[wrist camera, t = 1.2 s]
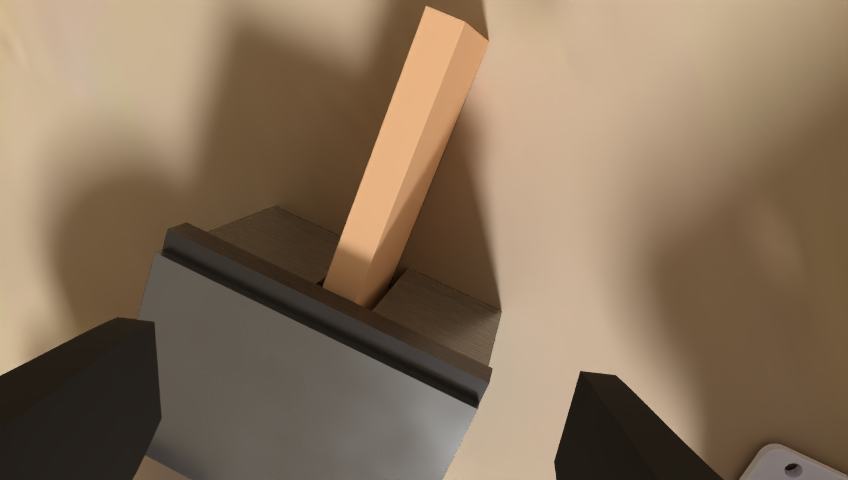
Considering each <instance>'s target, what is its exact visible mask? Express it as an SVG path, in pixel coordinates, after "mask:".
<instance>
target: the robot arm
mask: <svg viewBox="0 0 848 480" xmlns="http://www.w3.org/2000/svg"><path fill="white" fill-rule="evenodd" d="M161 419H162V414H161V401H160V388H159V375H158V362H157V348H156V335H155V322H153V321H145V320H136V319H127V318H119V317H117V318H115V319H113V320H110V321H108V322H106V323H104V324H102V325H99V326H97V327H95V328H93V329H91V330H89V331H87V332H85V333H83V334H81V335H79V336H77V337H75V338H73V339H71V340H69V341H67V342H66V343H64V344H62V345H60V346H58V347H56V348H54V349H52V350H50V351H48V352H46V353H44V354H42V355H40V356H38V357H36V358H34V359H32V360H30V361H29V362H27V363H25V364H23V365H21V366H19V367H17V368H15V369H13V370H11V371H9V372H7V373H5V374H3V375H1V376H0V480H133V478H134V476H135V475H136V473H137V471H138V469H139V466H140V464H141V462H142V460H143V458H144V456H145V454H146V452H147V450H148V448H149V446H150V443H151V441H152V439H153V437H154V435H155V432H156V430H157V428H158V426H159V424H160V421H161ZM554 463H555V471H556V480H723V479H722V478H721V477H720V476H719V475H718V474H717V473H716V472H714V471H713V470H712V469H711V468H710V467H709V466H708V465H707V464H706V463H705V462H704V461H703V460H702V459H701V458H700V457H699V456H698V455H697V454H696V453H695V452H694V451H693V450H692V449H691V448H689V447H688V446H687V445H686V444H685V443H684V442H683V441H682V440H681V439H680V438H679V437H678V436H677V435H676V434H675V433H674V432H673V431H672V430H671V429H670V428H669V427H668V426H667V425H666V424H665V423H664V422H663V421H662V420H661V419H660V418H659V417H658V416H657V415H656V414H655V413H654V412H653V411H652V410H651V409H650V408H649V407H648V406H647V405H646V404H645V403H644V402H643V401H642V400H641V399H640V398H639V397H638V396H637V395H636V394H635V393H634V392H633V391H632V390H631V389H630V388H629V387H628V386H627V385H626V384H625V383H624V382H623V381H622V380H620V379H619V378H618V377H617V376H616V375H609V374H601V373H592V372H583V371H580V374H579V378H578V381H577V385H576V388H575V392H574V395H573V399H572V402H571V406H570V409H569V413H568V416H567V419H566V423H565V426H564V430H563V433H562V437H561V440H560V444H559V447H558V451H557V454H556V458H555V461H554ZM792 463H795V464H798V465H797V467H796V468H795V469H793V470H785V467H786V466H787V465H788V464H792ZM739 480H848V475H846V474H844V473H842V472H839V471H837V470H835V469H833V468H831V467H829V466H827V465H824V464H822V463H820V462H818V461H816V460H814V459H811V458H809V457H807V456H805V455H803V454H801V453H799V452H796V451H794V450H792V449H790V448H788V447H786V446H784V445H780V444H769V445H766V446H764V447H763V448H762V449H761V450H760V451H759V452H758V454H757V455H756V456H755V458H754V459H753V461H752V462H751V464H750V465H749V466H748V468H747V469H746V471H745V472H744V473H743V475H742V476H741V478H740V479H739Z"/></svg>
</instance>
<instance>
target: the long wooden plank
mask: <svg viewBox="0 0 848 480" xmlns="http://www.w3.org/2000/svg"><path fill="white" fill-rule="evenodd" d="M488 43H489V41H488V40H486V39H485V38H484V37H483V36H482V35H480V34H479V33H478V32H477V31H476V30H475V29H473V28H472V27H471V26H470V25H469V24H467V23H466V22H464V21H462V20H460V19H457V18H455V17H452V16H450V15H447V14H445V13H443V12H440V11H438V10H435V9H433V8H430V7H428V6H426V7H425V10H424V13H423V15H422V18H421V21H420V24H419V26H418V29H417V32H416V34H415V37H414V40H413V43H412V45H411V48H410V51H409V53H408V56H407V59H406V62H405V64H404V67H403V70H402V72H401V75H400V78H399V81H398V83H397V86H396V89H395V91H394V94H393V97H392V100H391V102H390V105H389V108H388V110H387V113H386V116H385V119H384V121H383V124H382V127H381V129H380V132H379V135H378V138H377V140H376V143H375V146H374V148H373V151H372V154H371V157H370V159H369V162H368V165H367V167H366V170H365V173H364V176H363V178H362V181H361V184H360V186H359V189H358V192H357V195H356V197H355V200H354V203H353V206H352V208H351V211H350V214H349V216H348V219H347V222H346V225H345V227H344V230H343V233H342V235H341V238H340V241H339V244H338V246H337V249H336V252H335V254H334V257H333V260H332V263H331V265H330V268H329V271H328V273H327V276H326V279H325V282H324V284H323V288H325V289H327V290H329V291H331V292H333V293H335V294H337V295H340V296H342V297H344V298H346V299H348V300H350V301H352V302H354V303H356V304H358V305H360V306H363V307H365V308H367V309H369V310H371V311H372V310H373V309H374V308H375V307H376V306H377V304H378V303H379V302H380V301H381V300H382V298H383V297H384V296H385V294H386V292H387V290H388V287H389V285H390V282H391V280H392V277H393V275H394V272H395V270H396V268H397V265H398V263H399V260H400V258H401V255H402V253H403V250H404V248H405V246H406V243H407V241H408V238H409V236H410V233H411V231H412V228H413V226H414V224H415V221H416V219H417V216H418V214H419V211H420V209H421V206H422V204H423V202H424V199H425V197H426V194H427V192H428V189H429V187H430V184H431V182H432V180H433V177H434V175H435V172H436V170H437V167H438V165H439V162H440V160H441V158H442V155H443V153H444V150H445V148H446V145H447V143H448V140H449V138H450V136H451V133H452V131H453V128H454V126H455V123H456V121H457V118H458V116H459V114H460V111H461V109H462V106H463V104H464V101H465V99H466V96H467V94H468V91H469V89H470V87H471V84H472V82H473V79H474V77H475V74H476V72H477V69H478V67H479V65H480V62H481V60H482V57H483V55H484V52H485V50H486V47H487V45H488Z"/></svg>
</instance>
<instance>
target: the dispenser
mask: <svg viewBox="0 0 848 480" xmlns="http://www.w3.org/2000/svg"><path fill="white" fill-rule="evenodd" d="M340 238H341V237H340V236H338V235H336V234H334V233H332V232H329V231H327V230H325V229H323V228H321V227H319V226H317V225H314V224H312V223H310V222H308V221H306V220H304V219H301V218H299V217H297V216H295V215H293V214H291V213H289V212H286V211H284V210H282V209H280V208H278V207H276V206H273V207H270V208H268V209H265V210H263V211H260V212H258V213H255V214H252V215H250V216H247V217H245V218H242V219H240V220H237V221H234V222H232V223H229V224H227V225H224V226H222V227H219V228H217V229H214V230H211V231H209V232H205V231H203V230H201V229H199V228H197V227H195V226H193V225H190V224H188V223H184V224H181V225H179V226H176V227H173V228H170V229H168V230H167V234H166V238H165V242H164V246H163V249H162V250H160V251H158V252H155V254H154V258H153V262H152V265H151V269H150V273H149V277H148V281H147V285H146V289H145V292H144V296H143V300H142V304H141V308H140V312H139V316H138V319H137V320H145V321H153V322H155V335H156V348H157V362H158V375H159V388H160V401H161V414H162V419H161V421H160V424H159V426H158V428H157V430H156V432H155V435H154V437H153V439H152V441H151V443H150V446H149V448H148V450H147V452H146V454H145V456H147V457H149V458H151V459H153V460H155V461H157V462H159V463H161V464H162V465H164V466H166V467H168V468H170V469H172V470H174V471H176V472H178V473H179V474H181V475H183V476H185V477H187V478H189V479H191V480H443V478H444V476H445V474H446V472H447V470H448V468H449V466H450V464H451V462H452V460H453V458H454V456H455V454H456V452H457V450H458V448H459V446H460V444H461V442H462V440H463V438H464V436H465V434H466V432H467V430H468V428H469V426H470V424H471V422H472V420H473V418H474V416H475V414H476V412H477V410H478V406H479V403H480V401H481V399H482V397H483V395H484V393H485V391H486V389H487V387H488V385H489V382H490V377H491V373H492V369H493V368H491V367H489V366H488V365H489V361H490V357H491V353H492V349H493V345H494V341H495V337H496V333H497V329H498V325H499V321H500V317H501V313H502V311H499V310H497V309H495V308H493V307H491V306H489V305H487V304H484V303H482V302H480V301H478V300H476V299H474V298H472V297H469V296H467V295H465V294H463V293H461V292H459V291H456V290H454V289H452V288H450V287H448V286H446V285H444V284H441V283H439V282H437V281H435V280H433V279H431V278H428V277H426V276H424V275H422V274H420V273H418V272H416V271H413V270H411V269H409V268H408V269H407V270H406V272H405V273H404V274H403V275H402V276H401V277H400V279H399V280H398V281H397V282H396V283H395V284H394V286H393V287H392V288H391V289H390V290H389V291H388V293H387V294H386V295H385V296H384V297H383V298H382V300H381V301H380V302H379V303H378V304H377V306H376V307H375V308H374V309H373V310H372V311H371V310H369V309H367V308H365V307H363V306H360V305H358V304H356V303H354V302H352V301H350V300H348V299H346V298H344V297H342V296H340V295H337V294H335V293H333V292H331V291H329V290H327V289H325V288H323V284H324V282H325V279H326V276H327V273H328V271H329V268H330V265H331V263H332V260H333V257H334V254H335V252H336V249H337V246H338V244H339V241H340Z"/></svg>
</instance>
